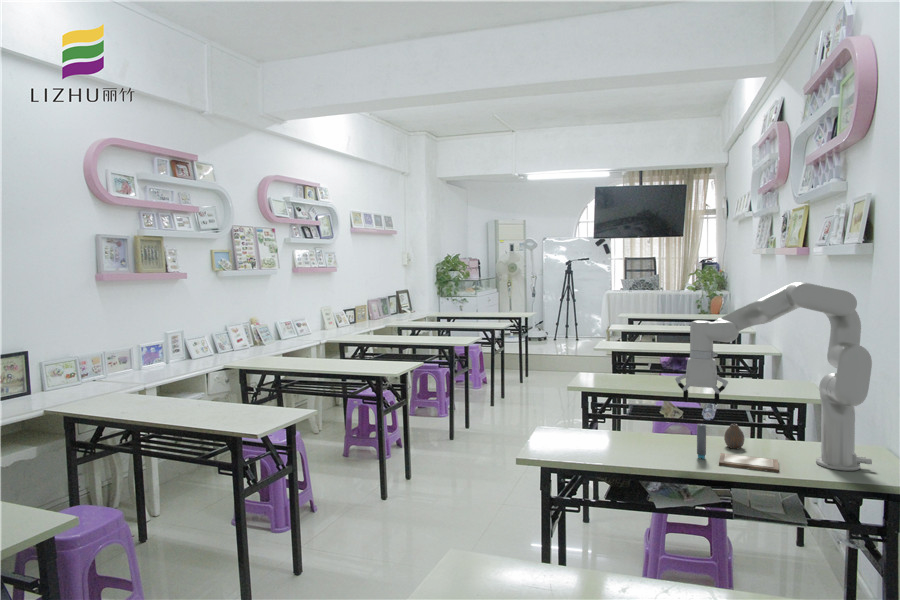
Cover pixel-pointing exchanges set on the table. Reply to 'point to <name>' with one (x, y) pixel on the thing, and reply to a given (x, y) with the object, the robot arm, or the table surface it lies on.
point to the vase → (734, 436)
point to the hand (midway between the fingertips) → (701, 402)
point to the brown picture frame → (749, 462)
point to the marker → (701, 440)
